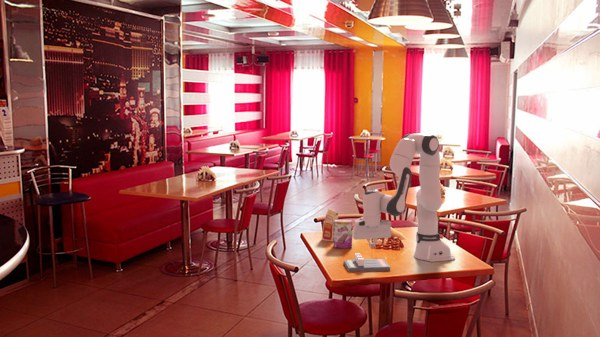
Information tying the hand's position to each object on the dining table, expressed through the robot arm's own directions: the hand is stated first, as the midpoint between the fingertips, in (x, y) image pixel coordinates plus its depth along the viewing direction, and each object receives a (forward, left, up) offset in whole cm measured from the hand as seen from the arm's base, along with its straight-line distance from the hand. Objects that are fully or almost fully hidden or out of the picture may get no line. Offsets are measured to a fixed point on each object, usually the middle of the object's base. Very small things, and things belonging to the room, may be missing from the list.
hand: (372, 246), depth 277 cm
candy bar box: (+8, -44, -13) cm, 46 cm away
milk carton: (+12, -63, -13) cm, 65 cm away
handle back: (+6, -9, -10) cm, 15 cm away
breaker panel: (+2, -5, -12) cm, 13 cm away
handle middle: (+6, -5, -10) cm, 12 cm away
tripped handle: (+6, 0, -10) cm, 12 cm away
